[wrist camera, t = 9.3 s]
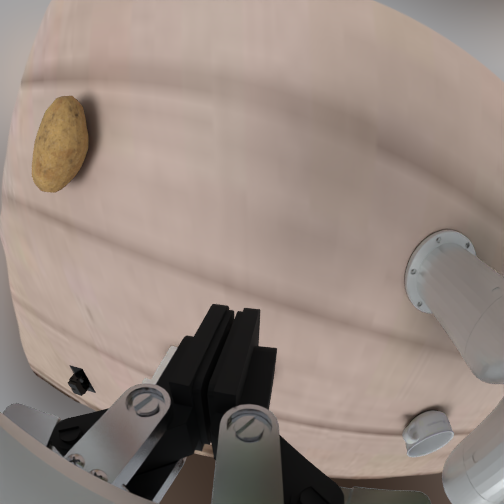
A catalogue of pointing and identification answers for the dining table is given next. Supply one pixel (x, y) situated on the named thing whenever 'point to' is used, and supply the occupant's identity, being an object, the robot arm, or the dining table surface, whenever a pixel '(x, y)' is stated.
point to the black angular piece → (80, 382)
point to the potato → (60, 145)
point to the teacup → (427, 433)
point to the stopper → (206, 451)
